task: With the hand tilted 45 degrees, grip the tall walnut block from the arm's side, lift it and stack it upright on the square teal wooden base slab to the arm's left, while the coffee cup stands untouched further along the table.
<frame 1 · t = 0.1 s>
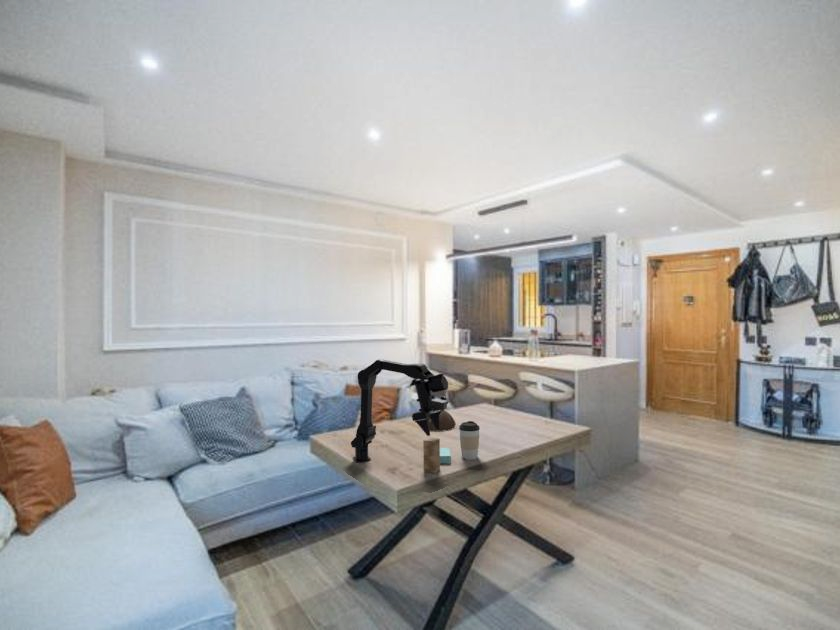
hand: (433, 432, 167), 15 cm above the table, tool pointing down, fingers open, 9 cm apart
decorative dome: (438, 426, 236), on the table
block: (431, 470, 168), on the table
base: (437, 458, 182), on the table
coffee cup: (469, 457, 184), on the table
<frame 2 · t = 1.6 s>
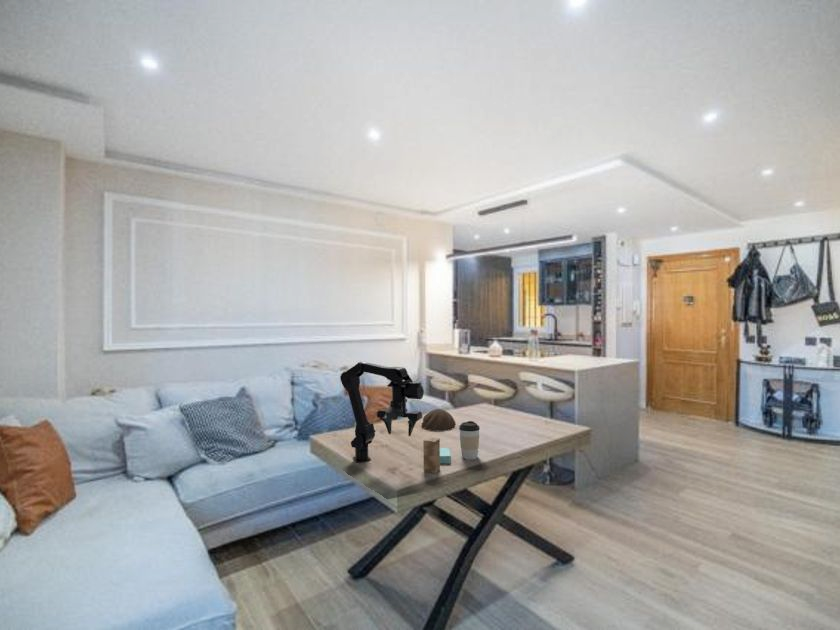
hand: (399, 435, 173), 13 cm above the table, tool pointing down, fingers open, 9 cm apart
nothing on the table moved.
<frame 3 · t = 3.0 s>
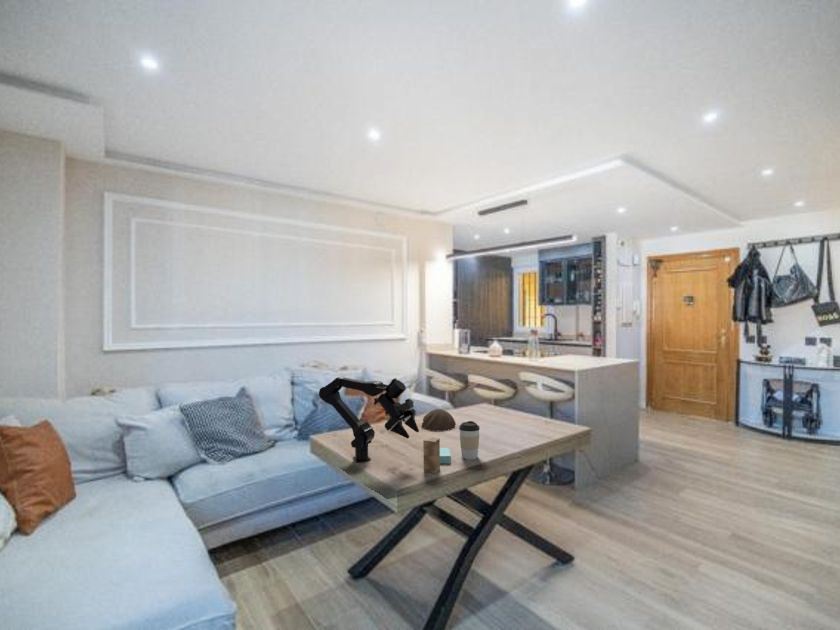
hand: (413, 434, 172), 13 cm above the table, tool tilted 45°, fingers open, 9 cm apart
nothing on the table moved.
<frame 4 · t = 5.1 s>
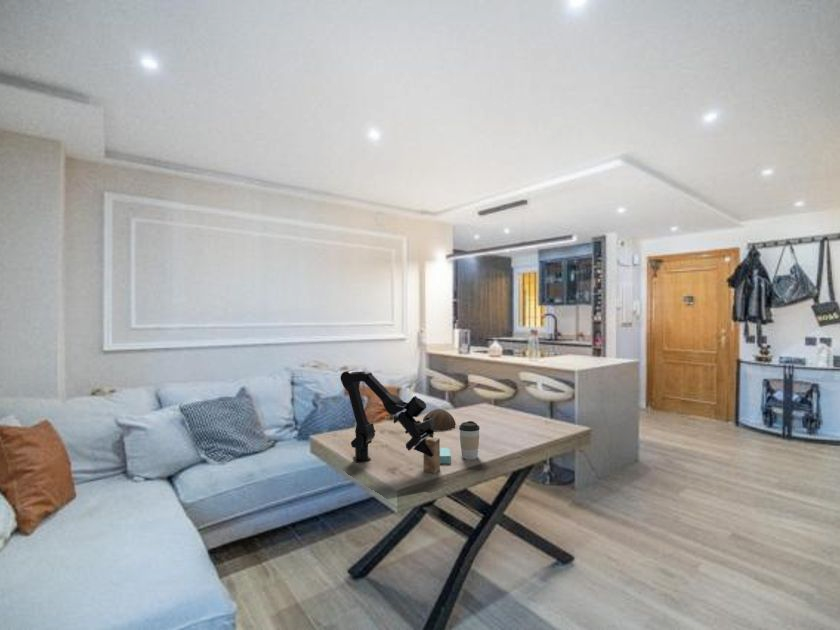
hand: (434, 454, 168), 7 cm above the table, tool tilted 45°, fingers closed on block, 5 cm apart
block: (431, 470, 168), on the table, touching gripper
everything else where it was.
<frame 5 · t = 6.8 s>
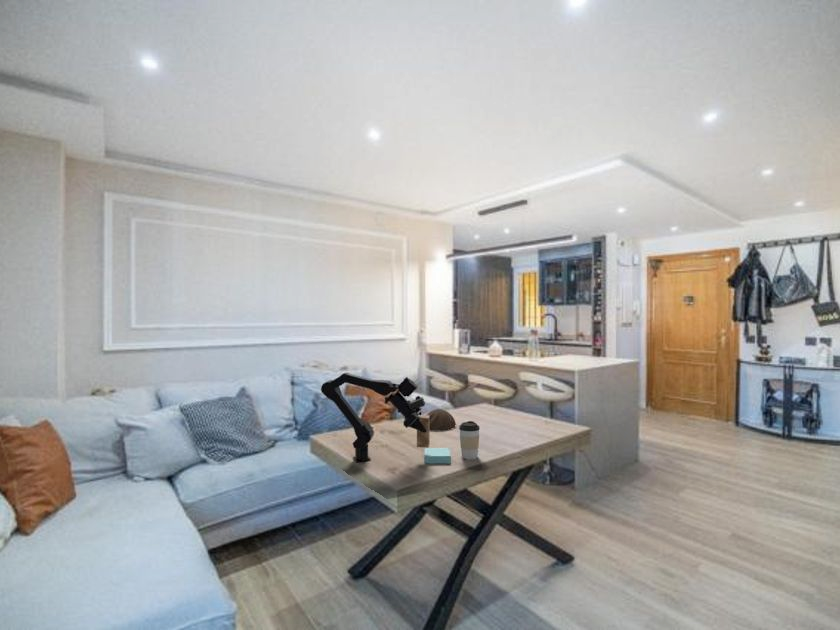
hand: (426, 430, 179), 13 cm above the table, tool tilted 45°, fingers closed on block, 5 cm apart
block: (423, 445, 179), point 7 cm above the table, touching gripper
everything else where it was.
when the fingers open (11 cm above the table, at t = 8.8 s): block drops 1 cm, resting on base.
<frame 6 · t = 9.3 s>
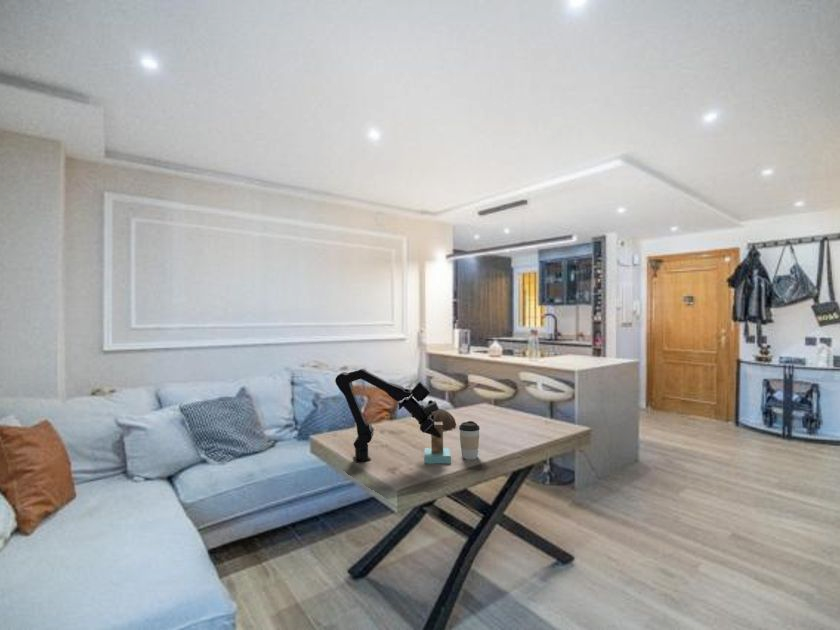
hand: (440, 433, 182), 11 cm above the table, tool tilted 45°, fingers open, 9 cm apart
block: (437, 451, 182), point 3 cm above the table, touching base
everything else where it was.
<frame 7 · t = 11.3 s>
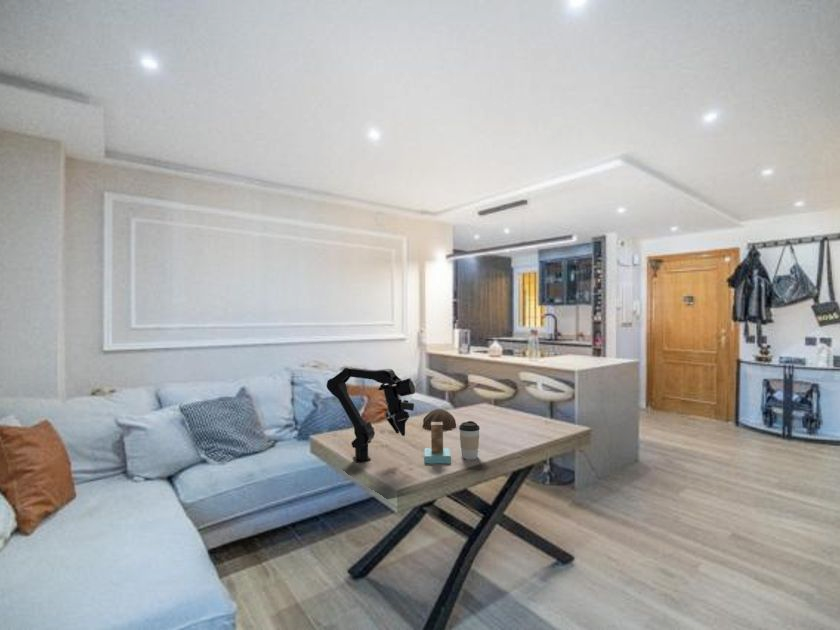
hand: (400, 434, 176), 12 cm above the table, tool pointing down, fingers open, 9 cm apart
nothing on the table moved.
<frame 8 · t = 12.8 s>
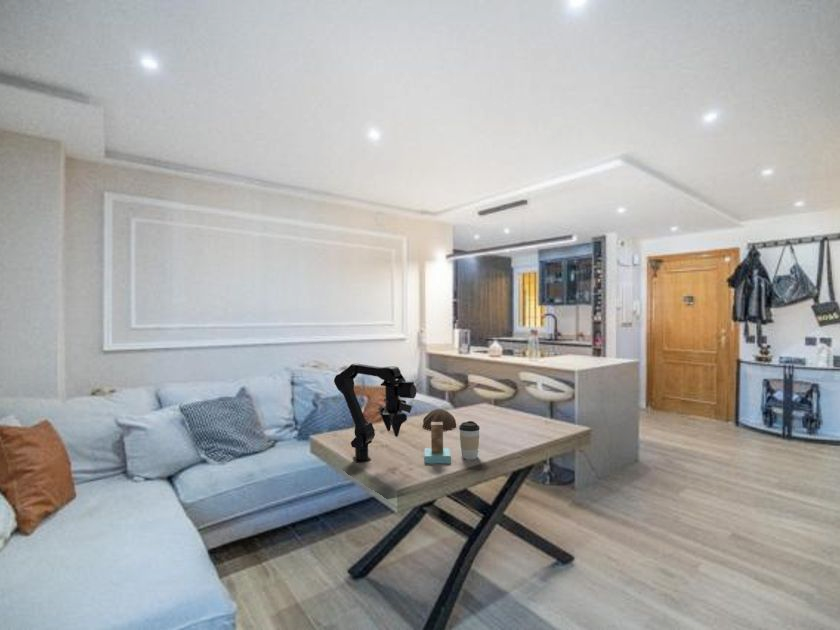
hand: (392, 433, 175), 13 cm above the table, tool pointing down, fingers open, 9 cm apart
nothing on the table moved.
at the end: block inside the target area on the base (0.0 cm from its centre), point 3.0 cm above the base's base; block tilted 0°; block touching base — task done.
